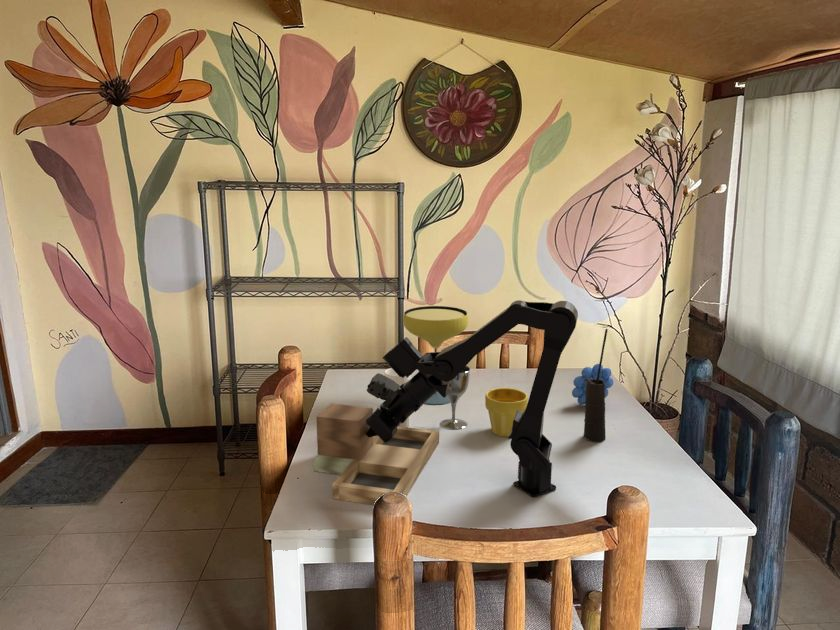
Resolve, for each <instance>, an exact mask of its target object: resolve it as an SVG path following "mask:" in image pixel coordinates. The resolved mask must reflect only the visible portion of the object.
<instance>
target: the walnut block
mask: <svg viewBox="0 0 840 630" xmlns="http://www.w3.org/2000/svg"><path fill="white" fill-rule="evenodd" d="M373 412H374V411H373V407H367V406H355V405H347V404H338V403H330V404H329V405H328V406H327V407H326V408H325V409H324V410H322V411H321V412H320V413H318V414H317V415H316V419H315V420H316V439H317V440H316V441H317V442H316V443H317V455H323V456H331V457H338V458H346V459H353V460H361V459H362V458H363V457H364V456H365V454H366V453H367V452H368V451H369V450H370V449H371V447H372V446H373V437H374V436H373V437H368V436H367V435H366V433H367V431H368V430H369V428H370V426H369V425H368V424H367V423H366V419H367V418H368V417H369V416H370V415H371V414H372V413H373Z"/></svg>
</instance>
